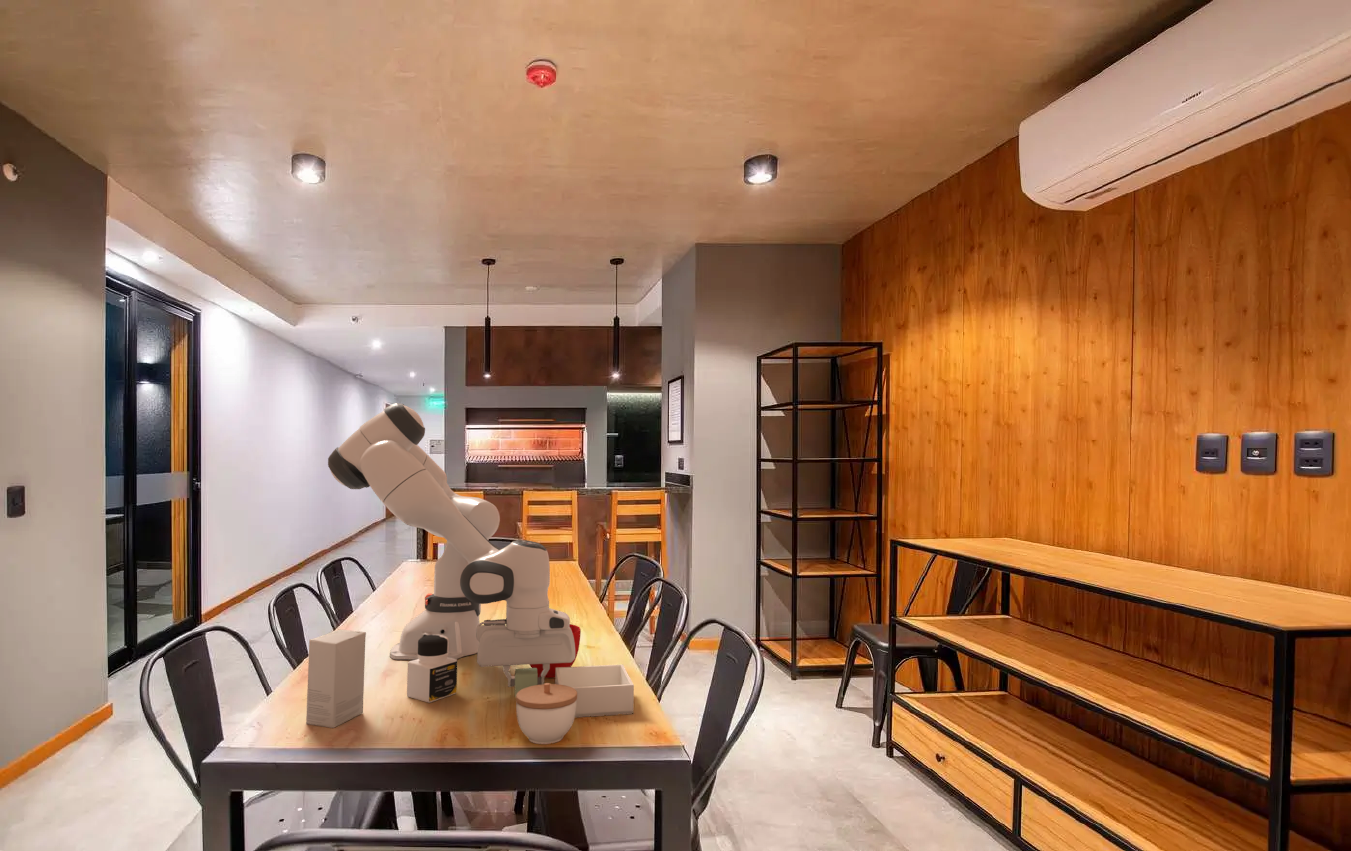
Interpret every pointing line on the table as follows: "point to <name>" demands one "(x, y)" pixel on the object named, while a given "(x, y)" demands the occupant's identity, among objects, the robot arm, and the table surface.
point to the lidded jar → (546, 712)
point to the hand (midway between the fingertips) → (526, 685)
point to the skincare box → (335, 678)
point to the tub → (599, 689)
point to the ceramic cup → (553, 666)
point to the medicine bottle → (432, 670)
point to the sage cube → (525, 678)
